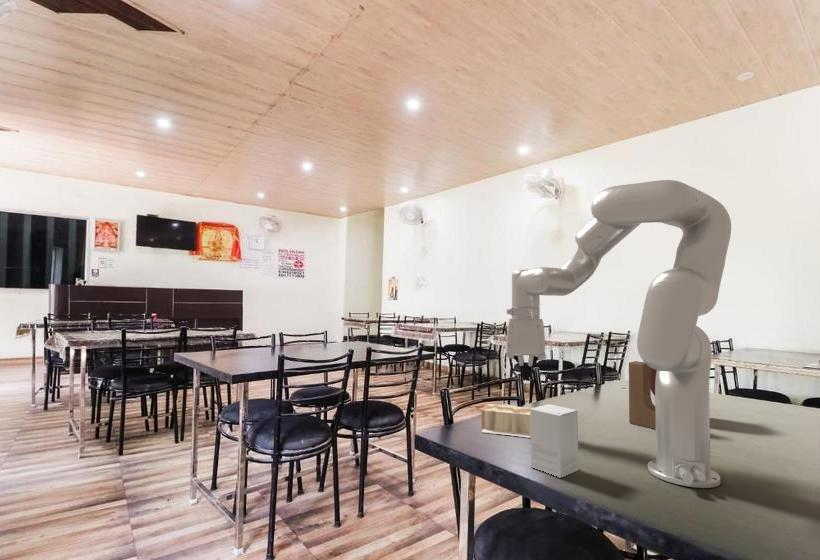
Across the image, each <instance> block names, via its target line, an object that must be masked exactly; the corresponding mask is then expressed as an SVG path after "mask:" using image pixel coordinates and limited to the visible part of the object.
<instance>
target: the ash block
mask: <svg viewBox="0 0 820 560" xmlns="http://www.w3.org/2000/svg"><path fill="white" fill-rule="evenodd" d="M532 408H533V407H525V406H516V405H515V406H514V405H502V404H494V403H485V405H484V406H483V408H482V409H481V430H483V429H491V430H500V431H509V432H518V433H526V434H531V426H530V409H532Z"/></svg>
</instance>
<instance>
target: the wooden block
mask: <svg viewBox="0 0 820 560" xmlns="http://www.w3.org/2000/svg"><path fill="white" fill-rule="evenodd" d="M651 393H652V392H651V388H650V367H649V366H648V365H647V364H646V363H645V362H644V361H638V360H636V361H635V360H634V361H629V362H628V407H629V408H628V418H629V419H628V420H629V424H631V425H635V426H639V427H644V428H648V429H652V430H656V421H655V405H654V403H653V400H652V397H651V396H652V395H651Z"/></svg>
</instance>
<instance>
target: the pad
mask: <svg viewBox="0 0 820 560" xmlns="http://www.w3.org/2000/svg"><path fill="white" fill-rule="evenodd" d="M487 433H489V435H496V434H502V435H501V436H504V435H511V436H510V437H513V436H519V437H518V438H521V437H526V438H525V439H530V438H531V434H526V433H518V432H509V431H500V430H491V429H481V434H487Z"/></svg>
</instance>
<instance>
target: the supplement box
mask: <svg viewBox="0 0 820 560" xmlns="http://www.w3.org/2000/svg"><path fill="white" fill-rule="evenodd" d="M531 408H532V409H530V426H531V439H530V468H531V467H532V468H531V469H533V468H535V469H534V470H536V469H538V470H537V471H539V470H541V471H540V472H542V471H544V472H543V473H545V472H546V473H545V474H548V473H549V474H548V475H551V474H552V475H551V476H553V475H554V477H556V476H557V478H560V479H562V478H564V477H567V476H569V475H571V474H573V473H575V472H577V471H579V416H578V413H579V412H578V409H573V408H569V407H564V406H558V405H554V404H550V403H548V404H544V405H540V406H536V407H531ZM568 474H569V475H568ZM566 475H567V476H566ZM561 477H562V478H561Z"/></svg>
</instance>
